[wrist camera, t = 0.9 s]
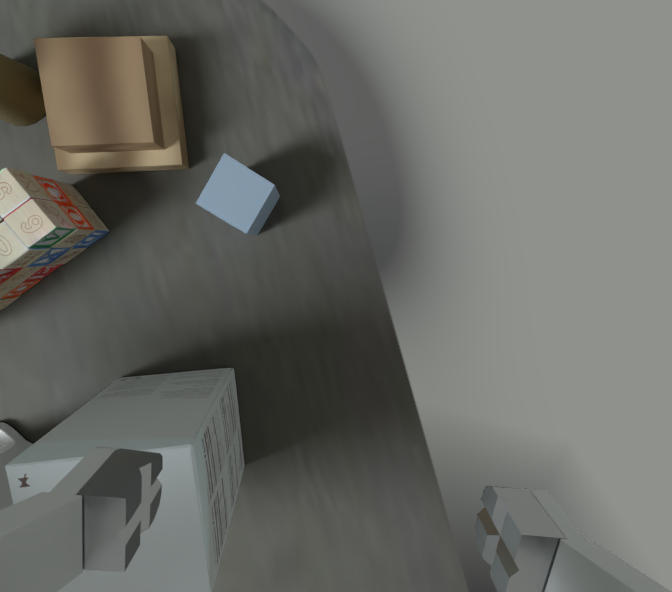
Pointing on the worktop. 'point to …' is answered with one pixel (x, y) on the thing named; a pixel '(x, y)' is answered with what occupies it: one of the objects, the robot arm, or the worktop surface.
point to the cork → (20, 93)
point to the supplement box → (176, 476)
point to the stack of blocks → (40, 229)
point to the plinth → (112, 103)
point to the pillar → (239, 196)
